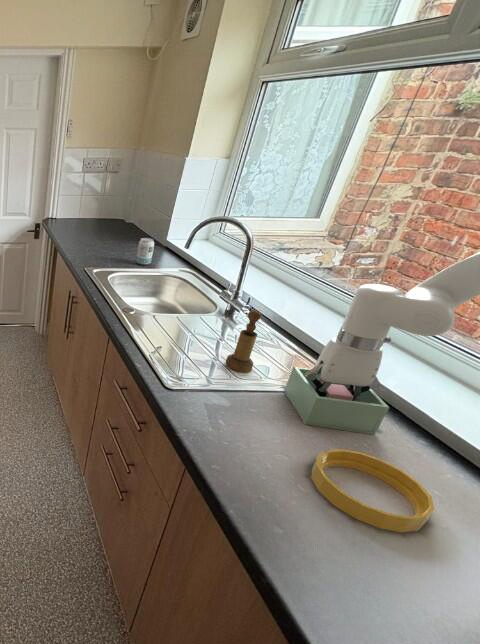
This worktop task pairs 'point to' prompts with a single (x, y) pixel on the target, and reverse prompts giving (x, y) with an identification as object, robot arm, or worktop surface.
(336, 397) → the pink toy cube
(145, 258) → the beverage can
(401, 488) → the yellow bangle
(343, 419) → the bin
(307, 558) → the worktop surface
